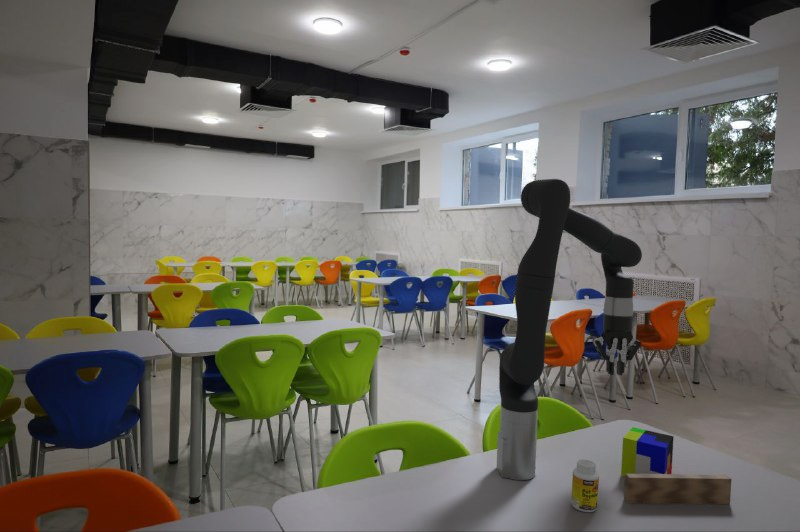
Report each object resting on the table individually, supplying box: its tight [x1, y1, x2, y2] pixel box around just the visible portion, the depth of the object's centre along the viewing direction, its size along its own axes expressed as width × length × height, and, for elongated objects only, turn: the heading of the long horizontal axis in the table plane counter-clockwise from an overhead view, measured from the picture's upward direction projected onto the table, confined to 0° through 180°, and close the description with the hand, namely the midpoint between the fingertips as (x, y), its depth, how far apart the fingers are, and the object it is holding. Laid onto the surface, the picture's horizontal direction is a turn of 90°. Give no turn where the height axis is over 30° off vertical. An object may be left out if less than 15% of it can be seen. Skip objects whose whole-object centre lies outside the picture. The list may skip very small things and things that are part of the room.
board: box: [623, 473, 732, 505], centre depth 121 cm, size 24×2×6 cm, turn 92°
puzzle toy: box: [620, 427, 674, 477], centre depth 135 cm, size 10×10×10 cm
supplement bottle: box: [570, 458, 600, 513], centre depth 118 cm, size 6×6×10 cm
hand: (615, 374), depth 146 cm, fingers closed
